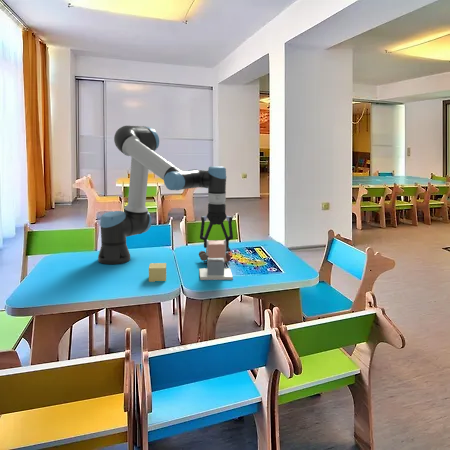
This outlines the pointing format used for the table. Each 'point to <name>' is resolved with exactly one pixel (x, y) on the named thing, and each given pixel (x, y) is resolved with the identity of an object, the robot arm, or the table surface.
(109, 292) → the table surface
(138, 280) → the table surface
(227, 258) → the figurine character
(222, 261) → the grey cube
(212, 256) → the pinkish brown cube
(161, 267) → the brick mustard
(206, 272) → the build plate
